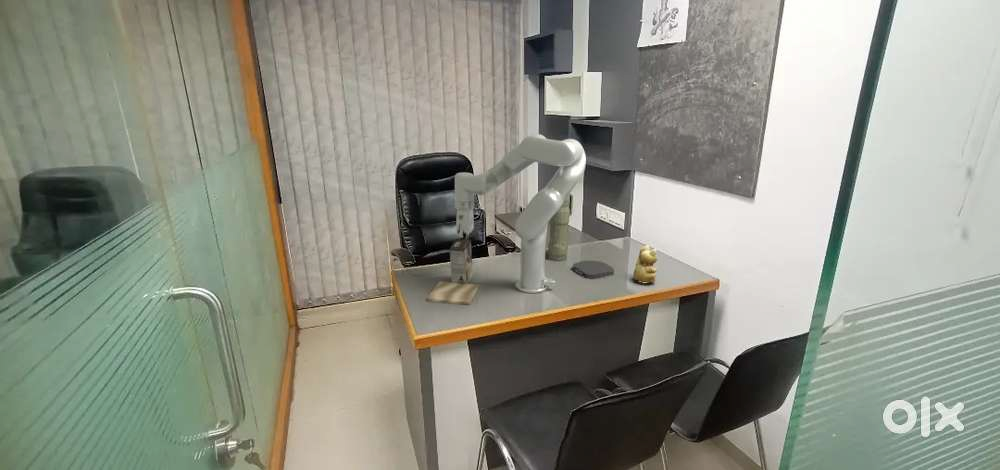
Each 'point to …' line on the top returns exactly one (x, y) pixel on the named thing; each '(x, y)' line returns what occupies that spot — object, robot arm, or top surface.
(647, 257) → the decorative figurine
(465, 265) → the coffee box
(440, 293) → the board
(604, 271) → the media streaming box
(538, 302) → the top surface
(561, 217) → the thermos
